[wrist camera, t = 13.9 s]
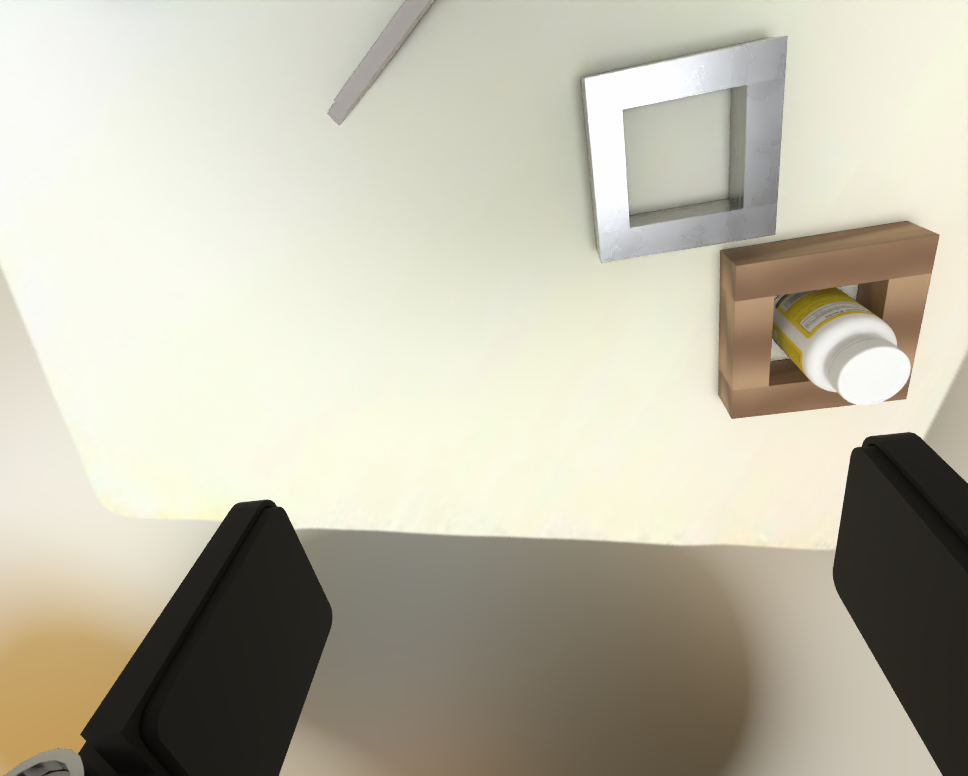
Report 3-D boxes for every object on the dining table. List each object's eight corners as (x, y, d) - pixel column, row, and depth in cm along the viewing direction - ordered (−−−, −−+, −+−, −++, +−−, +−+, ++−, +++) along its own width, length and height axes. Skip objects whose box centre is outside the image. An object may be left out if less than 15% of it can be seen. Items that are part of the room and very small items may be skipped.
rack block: (720, 250, 40) (736, 266, 37) (906, 220, 38) (939, 234, 35) (718, 395, 46) (731, 418, 43) (880, 375, 44) (905, 398, 41)
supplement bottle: (821, 352, 43) (892, 423, 35) (753, 339, 43) (807, 407, 35) (858, 286, 40) (944, 346, 32) (784, 271, 40) (852, 327, 32)
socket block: (580, 77, 35) (584, 78, 33) (767, 37, 33) (787, 35, 31) (596, 249, 40) (601, 262, 38) (758, 223, 39) (775, 234, 36)
